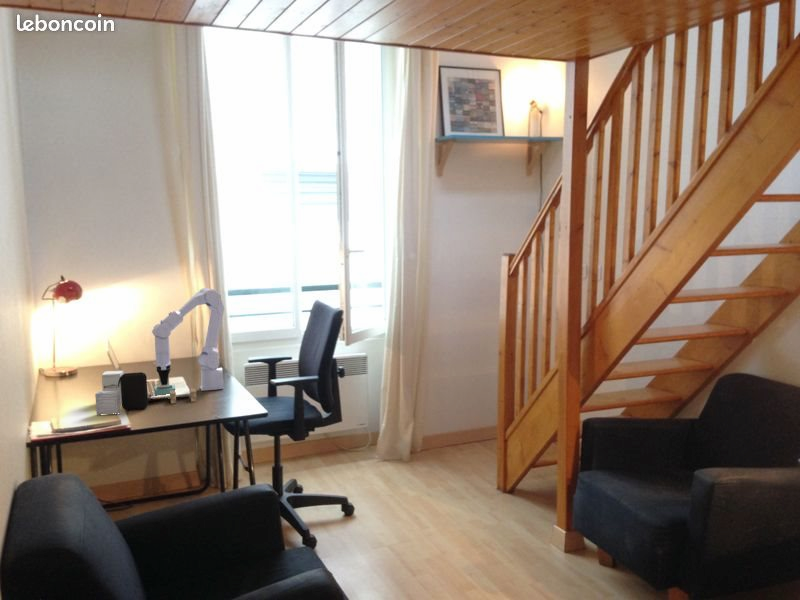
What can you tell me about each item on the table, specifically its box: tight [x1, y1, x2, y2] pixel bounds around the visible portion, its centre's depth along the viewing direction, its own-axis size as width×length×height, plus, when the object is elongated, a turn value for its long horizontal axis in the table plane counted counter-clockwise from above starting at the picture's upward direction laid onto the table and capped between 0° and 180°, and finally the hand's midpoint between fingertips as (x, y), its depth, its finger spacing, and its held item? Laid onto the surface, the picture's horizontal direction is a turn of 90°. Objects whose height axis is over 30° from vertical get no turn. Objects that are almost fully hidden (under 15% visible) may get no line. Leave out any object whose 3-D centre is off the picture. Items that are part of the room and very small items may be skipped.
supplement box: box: [101, 370, 124, 405], centre depth 299 cm, size 7×7×13 cm
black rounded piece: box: [118, 371, 149, 411], centre depth 286 cm, size 11×3×15 cm, turn 106°
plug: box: [158, 374, 170, 389], centre depth 309 cm, size 4×4×8 cm
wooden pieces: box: [170, 388, 198, 404], centre depth 300 cm, size 10×6×4 cm, turn 109°
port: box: [153, 384, 176, 396], centre depth 310 cm, size 12×12×4 cm
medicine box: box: [94, 390, 122, 416], centre depth 280 cm, size 8×4×9 cm, turn 92°
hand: (164, 383), depth 309 cm, fingers closed on plug, 4 cm apart
